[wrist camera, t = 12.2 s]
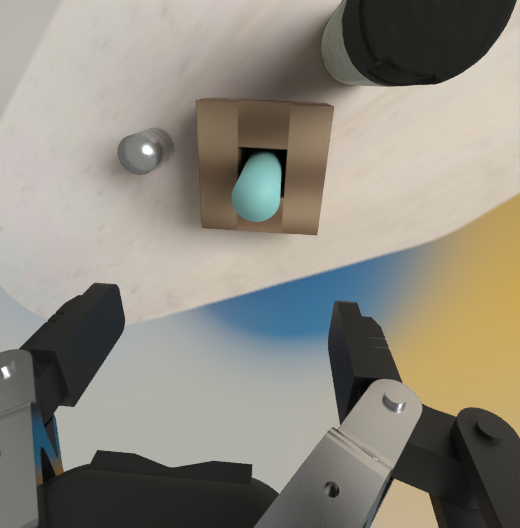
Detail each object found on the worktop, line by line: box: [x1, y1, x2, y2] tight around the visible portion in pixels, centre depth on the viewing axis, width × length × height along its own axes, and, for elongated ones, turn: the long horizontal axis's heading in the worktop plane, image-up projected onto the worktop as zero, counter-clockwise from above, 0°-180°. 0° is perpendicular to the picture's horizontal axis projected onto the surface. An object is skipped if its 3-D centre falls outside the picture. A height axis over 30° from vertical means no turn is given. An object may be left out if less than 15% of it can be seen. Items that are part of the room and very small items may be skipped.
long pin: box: [232, 148, 282, 222], centre depth 31 cm, size 4×4×14 cm
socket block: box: [196, 98, 334, 235], centre depth 34 cm, size 12×12×6 cm
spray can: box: [321, 0, 517, 87], centre depth 23 cm, size 7×7×20 cm
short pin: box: [118, 128, 174, 175], centre depth 34 cm, size 4×4×6 cm
